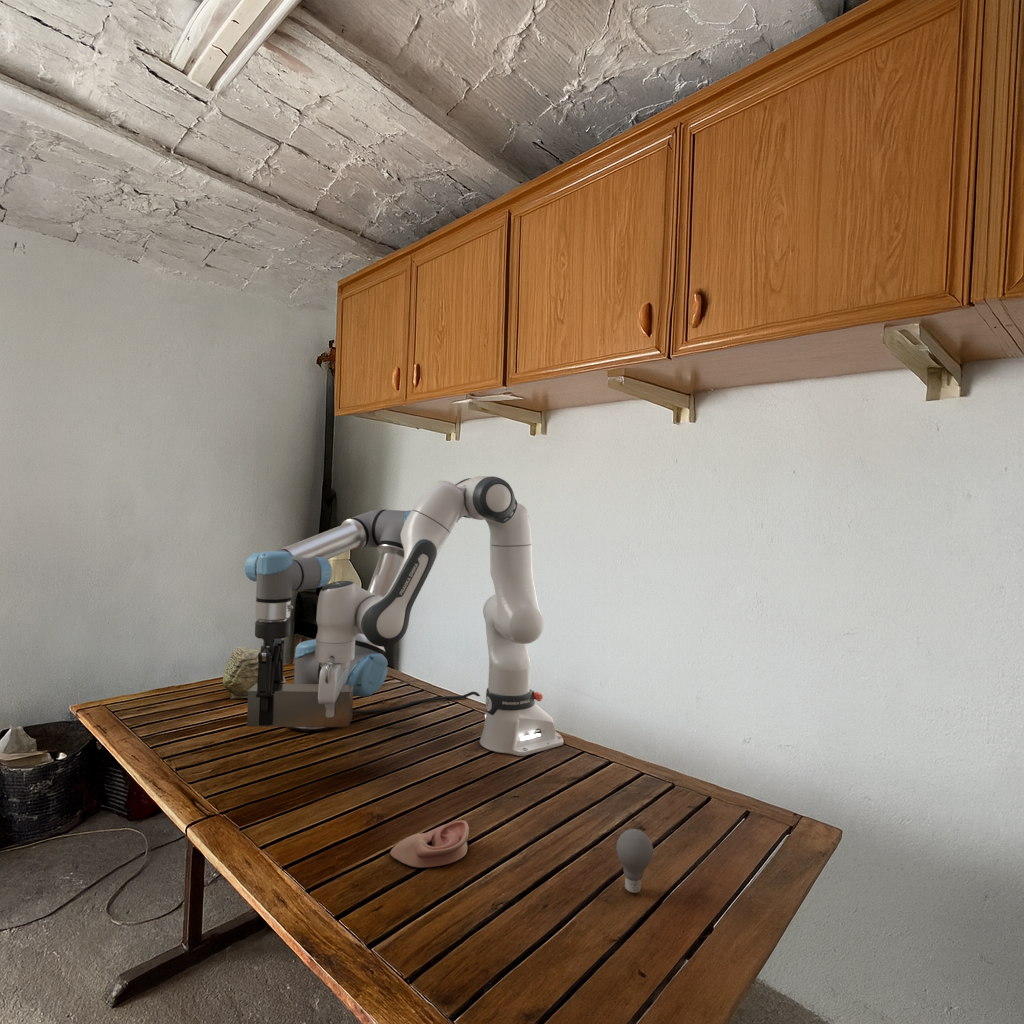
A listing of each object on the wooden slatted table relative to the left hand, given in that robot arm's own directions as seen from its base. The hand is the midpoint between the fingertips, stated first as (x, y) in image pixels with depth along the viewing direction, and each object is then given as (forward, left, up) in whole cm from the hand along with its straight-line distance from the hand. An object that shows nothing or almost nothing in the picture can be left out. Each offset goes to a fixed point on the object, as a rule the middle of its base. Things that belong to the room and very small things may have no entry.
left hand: (269, 719), depth 145 cm
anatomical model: (-2, +51, -12) cm, 53 cm away
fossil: (-26, -52, -12) cm, 59 cm away
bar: (-5, +5, -1) cm, 7 cm away
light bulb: (-17, +84, -12) cm, 87 cm away
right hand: (-10, +10, +2) cm, 14 cm away
